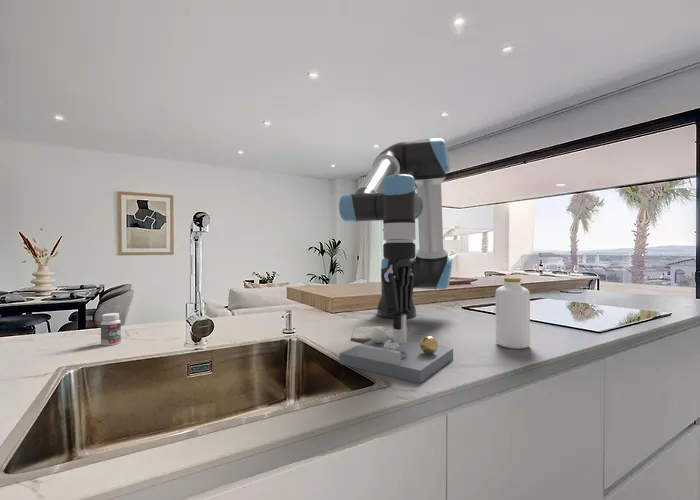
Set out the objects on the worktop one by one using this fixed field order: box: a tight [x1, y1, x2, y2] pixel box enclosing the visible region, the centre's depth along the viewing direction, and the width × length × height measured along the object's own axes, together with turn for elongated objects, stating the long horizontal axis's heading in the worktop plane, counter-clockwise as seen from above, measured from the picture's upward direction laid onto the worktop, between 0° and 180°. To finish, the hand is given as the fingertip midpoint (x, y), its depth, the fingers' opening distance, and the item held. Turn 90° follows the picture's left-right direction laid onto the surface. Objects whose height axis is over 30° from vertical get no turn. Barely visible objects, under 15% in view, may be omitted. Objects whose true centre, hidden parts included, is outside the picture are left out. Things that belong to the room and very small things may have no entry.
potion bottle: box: [495, 277, 531, 350], centre depth 95 cm, size 8×8×18 cm
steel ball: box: [384, 340, 399, 351], centre depth 80 cm, size 4×4×4 cm
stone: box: [350, 325, 389, 343], centre depth 104 cm, size 15×11×3 cm
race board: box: [339, 337, 454, 384], centre depth 83 cm, size 18×20×5 cm
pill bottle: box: [100, 312, 122, 347], centre depth 100 cm, size 5×5×8 cm
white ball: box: [370, 326, 387, 344], centre depth 89 cm, size 4×4×4 cm
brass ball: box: [419, 335, 439, 354], centre depth 80 cm, size 4×4×4 cm
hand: (399, 342), depth 84 cm, fingers closed
